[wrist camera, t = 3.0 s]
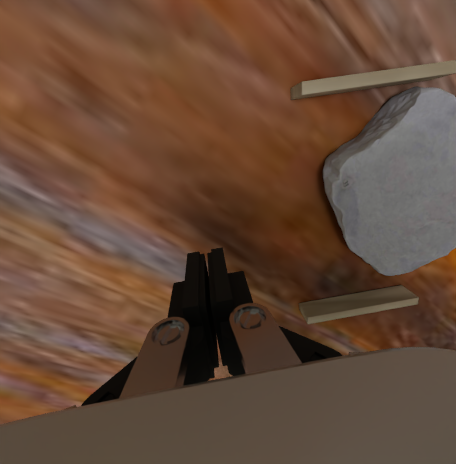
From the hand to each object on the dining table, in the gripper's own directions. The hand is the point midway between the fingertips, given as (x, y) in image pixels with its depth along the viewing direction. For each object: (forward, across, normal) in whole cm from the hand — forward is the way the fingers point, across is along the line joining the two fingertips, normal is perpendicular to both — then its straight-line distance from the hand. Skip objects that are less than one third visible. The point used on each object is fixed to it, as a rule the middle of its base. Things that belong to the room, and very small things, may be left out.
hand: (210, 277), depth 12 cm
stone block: (+9, -14, 0) cm, 17 cm away
